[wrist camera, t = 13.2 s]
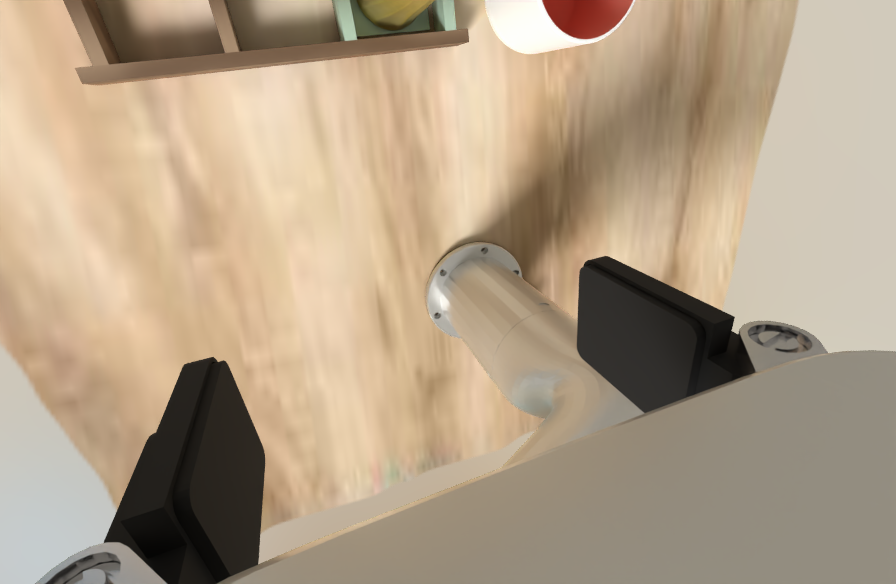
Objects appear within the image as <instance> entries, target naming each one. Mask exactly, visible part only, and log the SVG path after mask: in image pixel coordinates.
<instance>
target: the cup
mask: <svg viewBox="0 0 896 584" xmlns="http://www.w3.org/2000/svg"><path fill="white" fill-rule="evenodd" d="M634 3H635V0H485V7H486V12H487V16H488V19H489V22H490V24H491V26H492V28H493V30H494V32H495V33H496V35H497V36H498V37H499V39H500V40H501V41H502V42H503V43H504V44H505V45H507V46H508V47H510V48H511V49H513V50H515V51H517V52H520V53H525V54H537V53H542V52H547V51H553V50H558V49H563V48H568V47H574V46H579V45H584V44H589V43H594V42H597V41H599V40H602V39H604V38H605V37H607V36H608V35H610V34H611V33H612V32H614V31H615V30H616V29H617V28H618V27H619V26H620V25H621V24H622V22H623V21H624V20H625V18H626V17H627V15H628V14H629V12H630V10H631V9H632V7H633V5H634Z"/></svg>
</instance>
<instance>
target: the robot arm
mask: <svg viewBox="0 0 896 584" xmlns="http://www.w3.org/2000/svg"><path fill="white" fill-rule="evenodd" d="M482 248H483V250H482ZM442 269H443V270H442ZM441 270H442V272H440V271H441ZM425 297H426V306H427V310H428V313H429V315H430V317H431V319H432V320H433V322H434V323H435V324H436V326H437V327H438V328H439V329H440V330H441V331H443V332H444V333H446V334H448V335H450V336H452V337H456V338H460V339H462V340H463V341H464V343H465V344H466V345H467V347H468V348H469V349H470V351H471V352H472V353H473V355H474V356H475V358H476V359H477V360H478V362H479V363H480V364H481V366H482V367H483V368H484V370H485V371H486V373H487V374H488V375H489V377H490V378H491V379H492V381H493V382H494V383H495V385H496V386H497V387H498V389H499V390H500V391H501V393H502V394H503V395H504V397H505V398H506V399H507V400H508V401H509V402H510V403H511V404H512V405H514V406H515V407H516V408H518V409H520V410H521V411H523V412H525V413H527V414H530V415H533V416H536V417H540V418H544V419H545V420H544V421H543V422H542V423H541V424H540V426H539V427H538V429H537V430H536V431H535V432H534V433H533V434H532V435H531V437H530V438H529V439H528V440H527V441H526V442H525V443H524V444H523V445H522V446H521V447H520V448H519V449H518V451H517V452H516V453H515V454H514V455H513V456H512V457H511V458H510V459H509V460H508V461H507V462H506V463H505V465H504V466H503V467H502V468H500V469H497V470H494V471H492V472H489V473H487V474H484V475H482V476H479V477H476V478H474V479H471V480H469V481H466V482H463V483H461V484H458V485H456V486H453V487H451V488H448V489H445V490H443V491H440V492H438V493H435V494H432V495H430V496H427V497H425V498H422V499H420V500H417V501H414V502H412V503H409V504H407V505H404V506H402V507H399V508H396V509H394V510H391V511H389V512H386V513H384V514H381V515H378V516H376V517H373V518H371V519H368V520H366V521H363V522H361V523H358V524H356V525H353V526H350V527H348V528H345V529H343V530H340V531H338V532H335V533H333V534H330V535H328V536H325V537H323V538H320V539H318V540H315V541H313V542H310V543H308V544H306V545H303V546H301V547H298V548H296V549H294V550H291V551H289V552H287V553H284V554H282V555H279V556H277V557H275V558H272V559H270V560H268V561H265V562H263V563H261V564H258V559H259V545H260V530H261V516H262V501H263V487H264V472H265V454H264V449H263V446H262V443H261V441H260V439H259V436H258V434H257V432H256V429H255V427H254V425H253V422H252V420H251V418H250V415H249V413H248V411H247V408H246V406H245V403H244V401H243V399H242V396H241V394H240V392H239V389H238V387H237V385H236V382H235V380H234V378H233V375H232V373H231V371H230V368H229V366H228V364H227V363H226V361H220V362H217V360H216V359H215V358H214V357H211V358H207V359H203V360H199V361H195V362H191V363H187V364H184V366H183V368H182V370H181V373H180V375H179V378H178V380H177V383H176V385H175V387H174V390H173V392H172V395H171V397H170V400H169V402H168V405H167V407H166V410H165V412H164V415H163V417H162V419H161V422H160V424H159V427H158V429H157V432H156V433H154V434H152V435H151V436H150V437H149V438H148V440H147V442H146V444H145V446H144V449H143V451H142V453H141V456H140V458H139V460H138V463H137V465H136V468H135V470H134V472H133V475H132V477H131V479H130V482H129V484H128V486H127V489H126V491H125V493H124V496H123V498H122V501H121V503H120V505H119V508H118V510H117V512H116V515H115V517H114V520H113V522H112V524H111V527H110V529H109V531H108V534H107V536H106V538H105V541H104V543H103V544H99V545H95V546H92V547H89V548H87V549H85V550H83V551H80V552H78V553H77V554H74V555H72V556H70V557H69V558H68V559H66V560H65V561H63V562H62V563H60V564H59V565H57V566H56V567H54V568H53V569H51V570H50V571H49V572H48V573H47V574H46V575H45V576H44V577H42V578H41V579H40V580H39V581H38V582H37V583H35V584H896V352H893V351H874V350H871V351H843V352H835V353H828V352H827V351H826V349H825V348H824V347H823V345H822V344H821V342H820V341H819V340H818V339H817V338H816V337H815V336H814V335H812V334H810V333H809V332H807V331H805V330H803V329H800V328H798V327H795V326H792V325H788V324H784V323H779V322H773V321H755V322H749V323H747V324H744V325H743V326H742V327H741V328H740V330H739V334H736V333H734V332H732V331H731V330H732V326H733V322H734V318H735V317H733V316H731V315H729V314H727V313H725V312H723V311H721V310H719V309H717V308H715V307H713V306H711V305H709V304H706V303H704V302H702V301H700V300H698V299H696V298H694V297H692V296H690V295H688V294H686V293H683V292H681V291H679V290H677V289H675V288H673V287H671V286H669V285H667V284H665V283H663V282H661V281H658V280H656V279H654V278H652V277H650V276H648V275H646V274H644V273H642V272H640V271H638V270H635V269H633V268H631V267H629V266H627V265H625V264H623V263H621V262H619V261H617V260H615V259H613V258H610V257H608V256H604V257H600V258H596V259H592V260H588V261H586V262H585V264H584V267H582V268H581V270H580V275H579V300H578V320H577V319H575V318H574V317H573V316H571V315H570V314H569V313H567V312H566V311H565V310H563V309H562V308H561V307H559V306H558V305H557V304H555V303H554V302H553V301H551V300H550V299H549V298H547V297H546V296H545V295H543V294H542V293H541V292H539V291H538V290H537V289H535V288H534V287H533V286H531V285H530V284H529V283H527V282H526V281H525V280H523V278H522V272H521V269H520V266H519V264H518V262H517V261H516V259H515V258H514V257H513V256H512V255H511V254H510V253H509V252H508V251H506V250H505V249H503V248H502V247H500V246H498V245H495V244H492V243H487V242H474V243H470V244H465V245H463V246H461V247H458V248H456V249H455V250H453V251H452V252H450V253H448V254H447V255H446V256H445V257H444V258H443V259H442V260H441V261H440V262H439V263H438V265H437V266H436V267H435V268H434V270H433V272H432V274H431V276H430V278H429V281H428V284H427V287H426V296H425ZM435 313H436V314H435Z"/></svg>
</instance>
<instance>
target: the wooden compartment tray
mask: <svg viewBox="0 0 896 584" xmlns="http://www.w3.org/2000/svg"><path fill="white" fill-rule="evenodd" d="M63 1H64V3H65V5H66V7H67V10H68V12H69V14H70V16H71V19H72V21H73V23H74V25H75V28H76V30H77V32H78V34H79V36H80V39H81V41H82V43H83V45H84V48H85V50H86V52H87V54H88V57H89V59H90V61H91V63H92V66H90V67H80V68H75V69H76V71H77V74H78V76H79V78H80V80H81V82H82V84H90V85H106V84H115V83H124V82H133V81H142V80H151V79H160V78H169V77H178V76H187V75H196V74H206V73H215V72H224V71H233V70H242V69H251V68H260V67H269V66H278V65H287V64H296V63H305V62H314V61H323V60H332V59H341V58H350V57H359V56H368V55H377V54H386V53H396V52H405V51H414V50H423V49H432V48H441V47H450V46H458V45H461V44H464V43H467V42H469V36H468V29H459V30H456V20H455V9H454V0H435V1H434V2H433V3H432V12H433V21H434V29H435V32H430V33H420V34H410V35H400V36H390V37H380V38H370V39H360V40H357V37H362V36H372V35H382V34H393V33H403V32H413V31H423V30H430V25H429V16H428V8H426V9H425V10H424V11H423V12H422V13H420V14H419V15H418V16H417V17H416V19H415V20H414V21H413V22H412V23H411V24H410V25H409V26H407V27H405V28H403V29H400V30H396V31H392V30H386V29H382V28H380V27H378V26H376V25H375V24H374V23H372V22H371V21H370V20H369V19H368V18H367V17H366V16H365V15H364V14H363V12H362V11H361V9H360V7H359V5H358V3H357V0H332V3H333V8H334V13H335V18H336V23H337V28H338V32H339V37H340V42H330V43H320V44H310V45H300V46H290V47H280V48H270V49H260V50H250V51H241V48H240V45H239V41H238V38H237V35H236V31H235V28H234V25H233V21H232V18H231V15H230V11H229V8H228V5H227V1H226V0H209V4H210V7H211V10H212V13H213V16H214V19H215V23H216V26H217V29H218V32H219V35H220V38H221V42H222V45H223V48H224V51H225V53H220V54H210V55H200V56H190V57H180V58H170V59H160V60H150V61H140V62H130V63H121V61H120V59H119V57H118V54H117V52H116V49H115V47H114V45H113V42H112V40H111V37H110V35H109V33H108V30H107V28H106V26H105V23H104V21H103V18H102V16H101V14H100V11H99V9H98V6H97V4H96V2H95V0H63Z"/></svg>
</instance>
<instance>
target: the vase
mask: <svg viewBox="0 0 896 584" xmlns="http://www.w3.org/2000/svg"><path fill="white" fill-rule="evenodd" d="M434 1H435V0H357V3H358V5H359V7H360V9H361V11H362V12H363V14H364V15H365V16H366V17H367V18H368V19H369V20H370V21H371V22H372V23H374V24H375V25H376V26H378V27H380V28H382V29H386V30H392V31H396V30H400V29H403V28H405V27H407V26H409V25H410V24H411V23H412V22H413V21H414V20H415V19H416V17H417V16H418V15H419V14H420V13H422V12H423V11H424V10H425V9H426V8H427V7H428V6H429V5H430V4H431V3H433V2H434Z"/></svg>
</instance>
